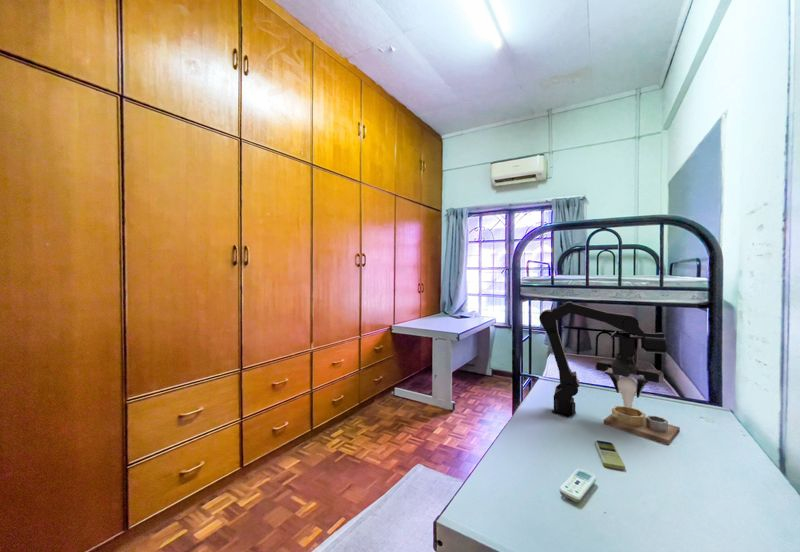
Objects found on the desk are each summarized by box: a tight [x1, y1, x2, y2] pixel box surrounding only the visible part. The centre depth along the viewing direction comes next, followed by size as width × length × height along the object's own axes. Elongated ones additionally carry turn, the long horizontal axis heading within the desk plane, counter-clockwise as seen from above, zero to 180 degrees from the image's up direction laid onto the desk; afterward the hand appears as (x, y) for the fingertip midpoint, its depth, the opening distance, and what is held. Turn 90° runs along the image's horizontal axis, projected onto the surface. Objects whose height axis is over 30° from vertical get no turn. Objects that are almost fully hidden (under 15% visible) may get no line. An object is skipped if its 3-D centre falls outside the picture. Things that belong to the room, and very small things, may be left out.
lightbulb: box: [617, 375, 638, 408], centre depth 112 cm, size 6×6×11 cm
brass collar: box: [611, 405, 647, 426], centre depth 112 cm, size 9×9×3 cm
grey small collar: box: [646, 415, 669, 432], centre depth 106 cm, size 5×5×3 cm
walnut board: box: [603, 413, 681, 446], centre depth 110 cm, size 18×13×2 cm
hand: (627, 394), depth 112 cm, fingers closed on lightbulb, 6 cm apart
